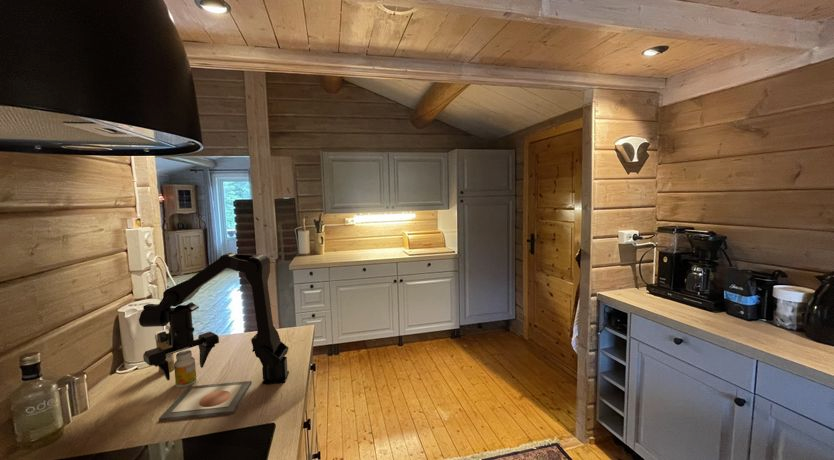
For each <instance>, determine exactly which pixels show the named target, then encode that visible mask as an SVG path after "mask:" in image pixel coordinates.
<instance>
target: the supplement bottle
mask: <svg viewBox="0 0 834 460" xmlns="http://www.w3.org/2000/svg"><path fill="white" fill-rule="evenodd" d="M192 355H193V354H192V350H191V349H190V350H189V349H185V350H182V351H179V352H176V353H175V359H176V360H174V369H173V371H174V379H175V386H176V387H178V388H185V387H188V386H192V385H193V384H194V383H195V382H196V381H197V370H196V359H195V357H193V356H192Z"/></svg>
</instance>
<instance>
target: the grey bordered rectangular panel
mask: <svg viewBox="0 0 834 460" xmlns="http://www.w3.org/2000/svg"><path fill="white" fill-rule="evenodd" d="M252 383H253V382H252V380H246V381H236V382H235V381H233V382H224V383H214V384H202V385H188V386H186V389H184V390H183V391H182V393H181V394H180V395H178V397H177V398H176V399H175V400H174V401H173V403H171V404H170V406H169V407H167V409H166V410H165V411H164V412H163V413H162V414H161V415H160V416H159V418H158V422H166V421H175V420H186V419H187V420H188V419H195V418H206V417H213V416H214V417H215V416H223V415H224V416H225V415H234V413H235V411H237V408H238V407H239V405H240V404H241V401H242V400H243V399H244V396H245V395H246V393H247V391H248V390H249V388H250V387H251V385H252Z"/></svg>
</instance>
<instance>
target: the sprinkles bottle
mask: <svg viewBox="0 0 834 460" xmlns="http://www.w3.org/2000/svg"><path fill="white" fill-rule="evenodd" d="M161 332H166V334H168V333H169V329H162V330H159V331H157V332H155V333H154V339H155V345H156V348H158V347H160V348H161V349H163V350H164V349H168V348H171V347H172V345H171V346H169V345H168V344H166V342H163V343H158V339H157V334H158V333H161ZM174 358H175V356H174V353H173V354H170V355H167V356H166V359H165V360H166V361H168V367H169V373H170V372H172V371H174V363H175V360H174ZM158 373H159V374H163V372H162V370H161V369H160V367H159V366H158Z"/></svg>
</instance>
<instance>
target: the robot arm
mask: <svg viewBox="0 0 834 460" xmlns="http://www.w3.org/2000/svg"><path fill="white" fill-rule="evenodd" d="M228 269H230V270H232V271H233V270H234V271H235V272H237V273H239V272H240V273H244V277H245V280H246V281H247V282H248V285H250V287H251V293H252V299H253V300H252V301H253V308H254V314H255V323H256V327H257V328H256V329H257V332H256V334H255V335H254V336H253V337H251V339H250V340H251V341H250V342H251V345H252V350H251V351H252V353H254V355H255V357H256V358H258V359H259V362H260V364H261V366H262V370H261V371H262V380H263V382H262V385H272V384H283V383H286V380H287V379H288V376H289V374H290V371H289V370H288V357H287V356H286V355H287V354H288V351H289V347H288V345H286V344H285V343H284V342H283V341H281V338H280V334H279V332H278V330H277V329H276V327H275V326H274V322H273V313H272V306H271V305H272V304H271V298H270V293H269V284H268V283H269V282H268V281H269V277H270V273H271V260H270V258H269V256H267V255H265V254H262V253H258V254H255V255H253V254H246V253H245V254H242V253H234V252H228V253H225V254H222V255H221V256H220V257H219V258H217V259H216V260H215V261H213V262H211V263H210V264H209V265H207V266H206V267H205V268H203V269H202V270H200V271H199V272H198V273H196V274H194V275H193V276H192V277H190V278H188V279H186V280H184V281H181V282H179V283H178V284H175V285H172V286H170V287H168V288H166V289H165V290H164V291H163V294H162V296H163V297H162V299H161V300H160V302H159V303H156V304H155V303H147V304H144V305H143V306H142V308H143V310H142V311H141V312H140V314H139V318H138V323H139V325H140V326H141V327H143V328H149V327H151V328H152V327H154V328H155V327H165V326H167V325H168V324H169V328H168V330H169V333H168V334H166V332H161V333H158V334H157V339H158V343H163V342H166V344H168V345H169V346H171V345H172V347H171V348H168V349H164V350H163V349H161V348H160V347H158V348H157V347H155V348H152V349H149V350H145V352H144V353H143V357H142V358H143V359H142V360H143V362H144V363H146V364H147V365H148V366H149V367H151V366H154V367H156V368H157V367H158V368H159V367H160V369H161V370H162V372H163V373H162V374H163V375H164V377H165V379H166V381H170V379H171V377H170V375H171V374H170V372H169V367H168V361H166V360H165V359H166V356H167V355H170V354H173V355H174V354H177V353H179V352H181V351H185V350H189V349H192V348H194V347H198V349H199V366H200V368H202V369H203V367H204V366H205V363H206V362H207V361H206V360H207V358H208V356H209V355H210V353H211V351H212V349H213V348H215V347H216V344H219V343H220V336H219V335H218V334H216V333H214V332H212V331H207V332H205V333H201V334H198V337H197V339H195V337H194V332H195V327H193V316H192V315H193V314H192V313H193V312H194V311H197V310H198V309H199V305H197V304H195V303H194V302H192V301H191V302H189V303H187V304H184V303H185V302H188V301H189V300H191V299H192V298H193V297H195V295H196V294H197V293H199V291H200V289H201V288H202V287H203V286H204V285H206V284H207V283H209V282H210V281H212V280H213V279H215V278H216V277H218V276H219V275H221V274H222V273H224V272H225V271H226V270H228Z"/></svg>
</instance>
